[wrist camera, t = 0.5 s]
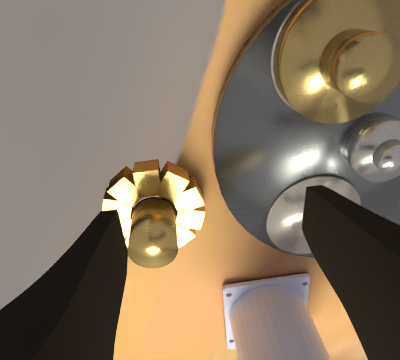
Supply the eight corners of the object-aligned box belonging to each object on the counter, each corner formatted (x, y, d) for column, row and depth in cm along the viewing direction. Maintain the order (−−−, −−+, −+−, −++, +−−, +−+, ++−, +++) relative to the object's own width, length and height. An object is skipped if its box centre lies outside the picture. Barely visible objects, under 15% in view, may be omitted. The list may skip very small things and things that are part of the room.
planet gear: (206, 233, 25) (215, 281, 21) (116, 245, 25) (107, 297, 21) (198, 154, 22) (207, 194, 17) (93, 167, 21) (76, 211, 17)
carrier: (454, 230, 28) (512, 276, 23) (220, 262, 27) (232, 318, 22) (580, -69, 17) (735, -92, 12) (198, -31, 16) (212, -41, 12)
